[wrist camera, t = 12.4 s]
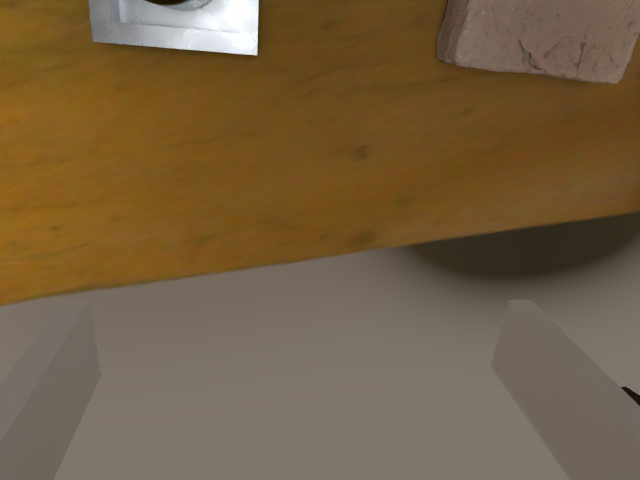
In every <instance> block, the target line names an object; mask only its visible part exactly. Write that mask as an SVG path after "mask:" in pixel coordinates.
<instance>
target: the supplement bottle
mask: <svg viewBox="0 0 640 480" xmlns="http://www.w3.org/2000/svg"><path fill="white" fill-rule="evenodd" d="M145 1H147V2H150V3H152V4H156V5H159V6H163V7H166V8H169V9H173V10H181V11H186V10H193V9H196V8H198V7H201V6H202V5H204V4H205V3H207V2H208V1H209V0H145Z"/></svg>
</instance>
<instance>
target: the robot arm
mask: <svg viewBox="0 0 640 480" xmlns="http://www.w3.org/2000/svg"><path fill="white" fill-rule="evenodd" d="M491 367H492V369H493V370H494V372H495V373H496V375H497V376H498V377H499V379H500V380H501V382H502V383H503V385H504V386H505V387H506V389H507V390H508V391H509V393H510V395H511V396H512V397H513V399H514V400H515V402H516V403H517V405H518V406H519V407H520V409H521V410H522V412H523V413H524V415H525V416H526V417H527V419H528V420H529V422H530V423H531V424H532V426H533V427H534V429H535V430H536V432H537V433H538V435H539V436H540V437H541V439H542V440H543V442H544V443H545V445H546V446H547V447H548V449H549V450H550V452H551V453H552V455H553V456H554V457H555V459H556V460H557V462H558V463H559V464H560V466H561V467H562V469H563V470H564V472H565V473H566V475H567V476H568V477H569V479H570V480H640V395H638V394H636V393H635V392H633V391H632V390H630V389H629V388H627V387H620V386H619V385H617V383H615V382H614V381H613V380H612V379H611V378H610V377H609V376H608V375H607V374H606V373H605V372H604V371H603V370H602V369H601V368H600V367H599V366H598V365H597V364H596V363H595V362H594V361H593V360H592V359H591V358H590V357H589V356H588V355H587V354H586V353H584V351H583V350H582V349H581V348H580V347H579V346H578V345H577V344H575V343H574V342H573V341H572V340H571V339H570V338H569V337H568V336H567V335H566V334H565V333H564V332H563V331H562V330H561V329H560V328H559V327H558V326H557V325H556V324H555V323H554V322H553V321H552V320H551V319H550V318H549V317H548V316H547V315H546V314H544V312H543V311H542V310H540V309H539V307H537V306H536V305H535V304H534V303H533V302H532V301H531V300H510V301H509V305H508V308H507V311H506V315H505V318H504V322H503V325H502V329H501V332H500V335H499V339H498V342H497V346H496V349H495V353H494V356H493V360H492V363H491ZM100 377H101V370H100V364H99V358H98V351H97V344H96V338H95V331H94V325H93V318H92V312H91V305H90V301H86V300H82V301H81V300H78V301H77V300H76V301H71V300H70V301H69V300H65V301H64V300H63V301H61V302H60V303H59V305H58V306H57V307H56V309H55V310H54V311H53V313H52V314H51V315H50V317H49V318H48V319H47V321H46V322H45V324H44V325H43V326H42V328H41V329H40V330H39V332H38V333H37V335H36V336H35V337H34V338H33V340H32V341H31V343H30V344H29V345H28V347H27V348H26V349H25V351H24V352H23V353H22V355H21V356H20V357H19V359H18V360H17V362H16V363H15V364H14V366H13V367H12V368H11V370H10V371H9V372H8V374H7V375H6V377H5V378H4V379H3V380H2V382H1V383H0V480H53V479H54V477H55V475H56V473H57V470H58V468H59V466H60V464H61V462H62V459H63V457H64V455H65V453H66V451H67V449H68V447H69V444H70V442H71V440H72V438H73V436H74V434H75V431H76V429H77V427H78V425H79V423H80V421H81V418H82V416H83V414H84V412H85V410H86V408H87V405H88V403H89V401H90V399H91V397H92V394H93V392H94V390H95V388H96V385H97V384H98V381H99V379H100Z"/></svg>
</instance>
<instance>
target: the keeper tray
mask: <svg viewBox="0 0 640 480" xmlns="http://www.w3.org/2000/svg"><path fill="white" fill-rule="evenodd" d="M88 1H89V10H90V19H91V28H92V37H93V42H103V43H115V44H127V45H139V46H151V47H163V48H175V49H187V50H199V51H211V52H223V53H235V54H247V55H257V45H258V4H259V0H209V1H208V2H207V3H205V4H204V5H202V6H201V7H198V8H196V9H193V10H186V11H181V10H173V9H169V8H166V7H163V6H159V5H156V4H152V3H150V2H147V1H145V0H88Z"/></svg>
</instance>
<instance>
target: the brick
mask: <svg viewBox="0 0 640 480" xmlns="http://www.w3.org/2000/svg"><path fill="white" fill-rule="evenodd" d="M639 33H640V0H448V5H447V9H446V11H445V17H444V21H443V22H442V27H441V30H440V32H439V35H438V40H437V47H436V55H437V58H438V59H440V60H442V61H443V62H446V63H451V64H454V65H456V66H461V67H468V68H475V69H484V70H489V71H497V72H512V73H520V72H525V73H529V74H539V75H547V76H550V77H555V78H562V79H572V80H578V81H585V82H595V83H602V84H617V83H618V82H619V81H620V80H621V78H622V76H623V75H624V72H625V70H626V67H627V63H628V62H629V61H630V60H631V55H632V53H633V50H634V47H635V44H636V41H637V38H638V36H639Z"/></svg>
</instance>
